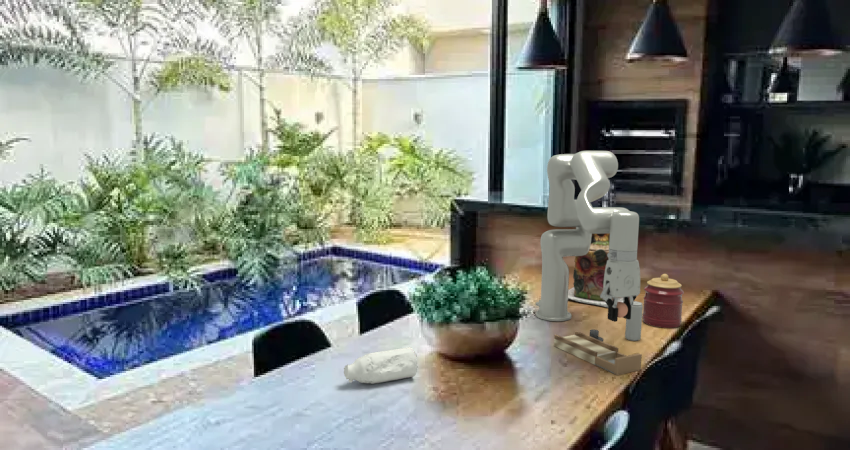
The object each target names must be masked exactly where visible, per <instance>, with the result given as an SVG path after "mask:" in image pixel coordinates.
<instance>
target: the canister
mask: <svg viewBox="0 0 850 450" xmlns="http://www.w3.org/2000/svg"><path fill="white" fill-rule="evenodd" d="M646 283H647V286H645V287H644V289H643V290H644V291H645V294H644V296H643V310H642V323H644V324H646V325H648V326H652V327H656V328H666V329H672V328H673V329H674V328H678V327H680V326H681V324H682V321H683V320H682V313H683V303H684V300H683V296H682V295H684V293H685V292H684V290H683V289H681V288H682V284H681V283H680V282H678V280H676V279H674V278H669V275H668V274H667V273H663V274H661V275H660V277H653V278H651V279H650V280H647V282H646Z"/></svg>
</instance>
